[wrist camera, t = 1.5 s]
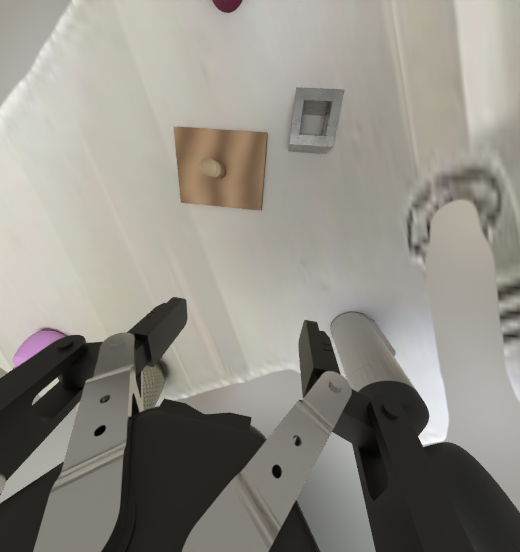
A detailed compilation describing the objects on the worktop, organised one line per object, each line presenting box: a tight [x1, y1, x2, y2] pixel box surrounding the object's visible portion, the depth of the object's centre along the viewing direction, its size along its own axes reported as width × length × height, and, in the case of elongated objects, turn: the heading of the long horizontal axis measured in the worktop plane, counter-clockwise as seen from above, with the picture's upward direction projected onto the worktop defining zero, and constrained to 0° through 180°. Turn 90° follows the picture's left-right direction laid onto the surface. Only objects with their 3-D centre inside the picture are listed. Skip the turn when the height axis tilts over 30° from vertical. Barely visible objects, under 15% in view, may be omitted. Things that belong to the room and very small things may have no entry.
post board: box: [174, 127, 267, 210], centre depth 31 cm, size 16×12×7 cm
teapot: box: [13, 331, 66, 369], centre depth 57 cm, size 14×20×11 cm
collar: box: [289, 88, 344, 154], centre depth 28 cm, size 6×6×5 cm
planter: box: [75, 362, 164, 413], centre depth 53 cm, size 17×17×16 cm
